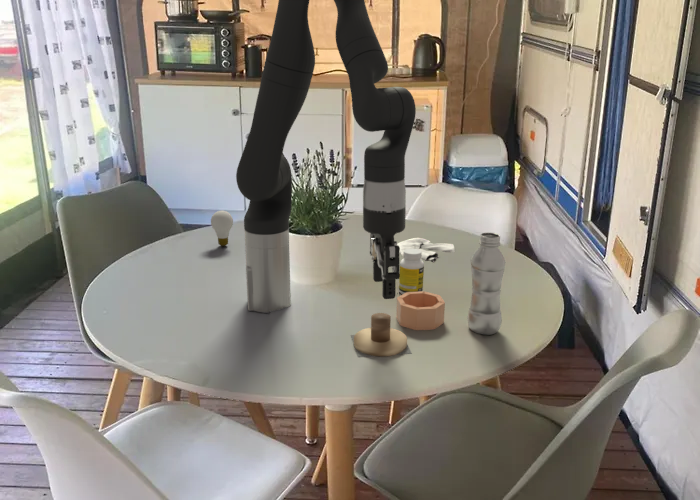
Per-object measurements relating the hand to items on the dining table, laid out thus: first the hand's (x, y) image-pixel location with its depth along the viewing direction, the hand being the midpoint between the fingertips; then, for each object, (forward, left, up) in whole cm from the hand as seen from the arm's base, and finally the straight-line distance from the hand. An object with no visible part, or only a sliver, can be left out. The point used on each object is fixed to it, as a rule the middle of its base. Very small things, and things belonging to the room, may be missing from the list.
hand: (383, 289), depth 125 cm
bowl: (+9, +9, -12) cm, 18 cm away
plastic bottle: (+21, +4, -12) cm, 24 cm away
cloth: (+22, +53, -13) cm, 59 cm away
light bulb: (-32, +65, -12) cm, 73 cm away
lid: (-1, 0, -11) cm, 11 cm away
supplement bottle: (+11, +26, -12) cm, 31 cm away
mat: (-1, 0, -12) cm, 12 cm away
